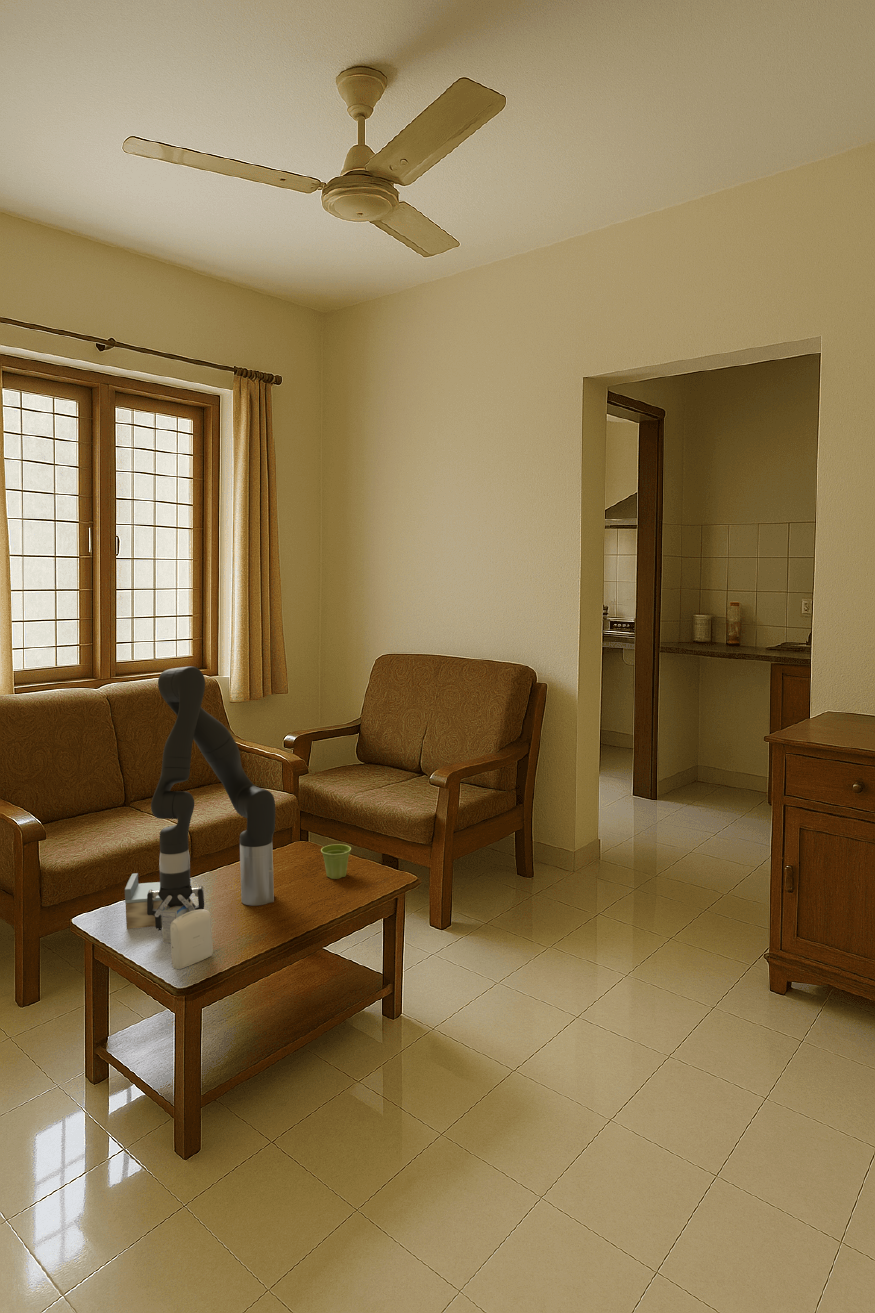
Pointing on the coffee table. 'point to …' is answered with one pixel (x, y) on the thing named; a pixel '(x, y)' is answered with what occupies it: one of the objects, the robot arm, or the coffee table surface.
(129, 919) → the wooden box
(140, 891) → the lid
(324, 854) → the plant pot
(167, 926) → the medicine box
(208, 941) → the photo printer
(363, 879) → the coffee table surface
